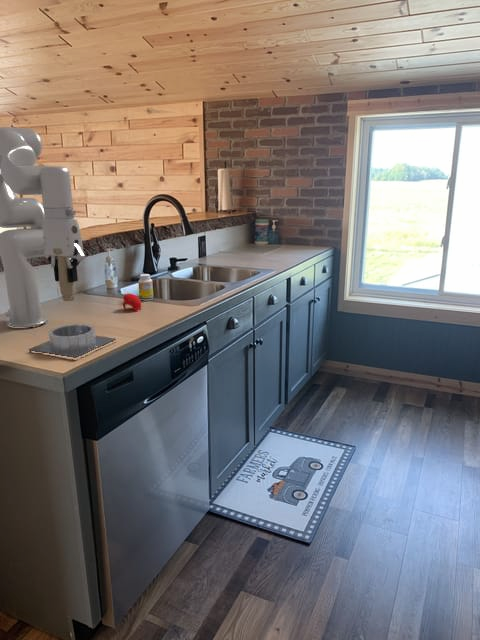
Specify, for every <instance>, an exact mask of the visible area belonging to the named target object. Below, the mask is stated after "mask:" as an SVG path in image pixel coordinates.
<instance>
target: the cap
mask: <svg viewBox="0 0 480 640" xmlns="http://www.w3.org/2000/svg"><path fill="white" fill-rule="evenodd" d="M122 299H123V301H122V306H123V309H125V310H124V311H126V310H127V308H126V305H129V306H131V307H132V309H133V310H134V311H135V312H138V311H137V310H140V311H141V309H142V300H140V298H139V296H137V295H136V294H134V293H126V294H124V295H123V298H122Z"/></svg>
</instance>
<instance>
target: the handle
mask: <svg viewBox="0 0 480 640" xmlns="http://www.w3.org/2000/svg"><path fill="white" fill-rule="evenodd" d="M55 251H57V253H56V252H55ZM53 253H54V254H56V255H60V254H63V252H62V250H61V249H55V248H53ZM57 258H58V272H59V281H58V283H59V285H58V286H59V289H60V293H61V294H60V295H61V297H62V300H63V302H72V301H75V282H72V283H69V282H68V277H67V268H69V267H68V264H67V260H66V257H60V256H58V257H57ZM57 258H56V259H57Z"/></svg>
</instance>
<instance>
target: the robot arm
mask: <svg viewBox="0 0 480 640" xmlns="http://www.w3.org/2000/svg"><path fill="white" fill-rule="evenodd" d="M42 150H43V143H42V139H41V137H40V135H39V133H37V132H36V131H35V130H34V129H31V128H25V127H14V126H13V127H11V126H0V228H2V229H3V228H4V229H8V230H4V231H1V232H0V259H1V263H2V267H3V272H4V277H5V278H4V280H5V284H6V290H7V298H8V303H9V304H8V305H9V308H8V310H7V311H6V312H4V316H5V317H9V320H8V321H7V322H6V325H7V324H8V325H10V326H13V327H33V326H37V327H39V326H38V325H41V324H43V325H45V324H46V323H45V322H47V323H48V317H46V316H45V315H43V314H42V313H43V312H42V307H41V298H40V291H39V283H38V276H37V271H36V269H35V268H34V266H33V265H32V264H31V263H30V262H29V261H28V259H31V258H32V259H33V258H41V257H45V258H46V259H47V260H48V262H49V263H50V265H51V267H52V268H53V273H54V281H55V282H59V272H58V258H57V257H58V256H60V257H66V260H67V264H68V267H69V268H67V277H68V282H69V283H72V282H74V283H75V282H78V280H79V279H78V278H79V276H78V270H77V269H78V267H79V264H80V263H81V262H82V261H83V260H85V258H86V256H85V254H84V246H83V239H82V238H83V237H82V235H81V229H80V226H79V222H78V220H77V219H76V218H75V215H76V210H74V205H73V204H74V203H73V193H72V183H71V175H70V171H69V169H68V168H67V167H65V166H46V165H45V166H44V165H43V166H40V165H35V164H36V160H38V158H39V157H40V156H41V153H42ZM16 194H17V195H20V196H33V195H35V196H36V195H40V196H41V199H42V200H41V201H42V202H41V201H40V200H39V199H37V198H35V197H18V196H17V195H16ZM53 248H55V249H61V250H62V252H63V254H60V255H56V254H54V253H53ZM55 252H56V253H57V251H55ZM9 323H11V324H9ZM44 323H45V324H44ZM41 326H42V325H41ZM33 328H34V327H33Z"/></svg>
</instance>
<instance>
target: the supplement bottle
mask: <svg viewBox="0 0 480 640" xmlns="http://www.w3.org/2000/svg"><path fill="white" fill-rule="evenodd" d="M137 282H138V298H139V299H140V301H142V300H143V302H148V301H149V302H150V301H153V299H154V287H153V286H154V285H153V279H151V274H149V273H142V274H139V280H138V281H137Z"/></svg>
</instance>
